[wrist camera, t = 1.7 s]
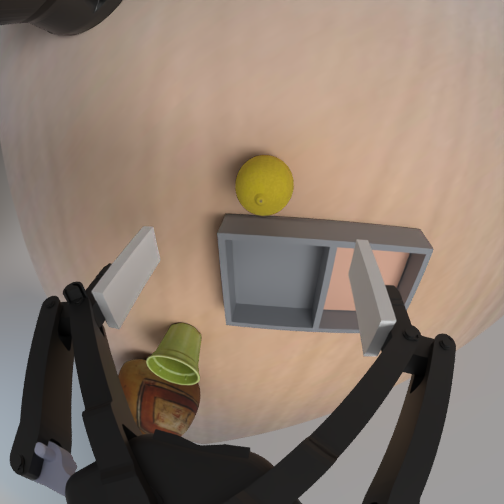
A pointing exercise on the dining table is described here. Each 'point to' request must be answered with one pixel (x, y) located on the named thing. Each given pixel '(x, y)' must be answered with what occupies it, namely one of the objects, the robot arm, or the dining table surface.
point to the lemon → (264, 185)
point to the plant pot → (177, 355)
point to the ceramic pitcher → (158, 399)
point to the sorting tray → (308, 269)
